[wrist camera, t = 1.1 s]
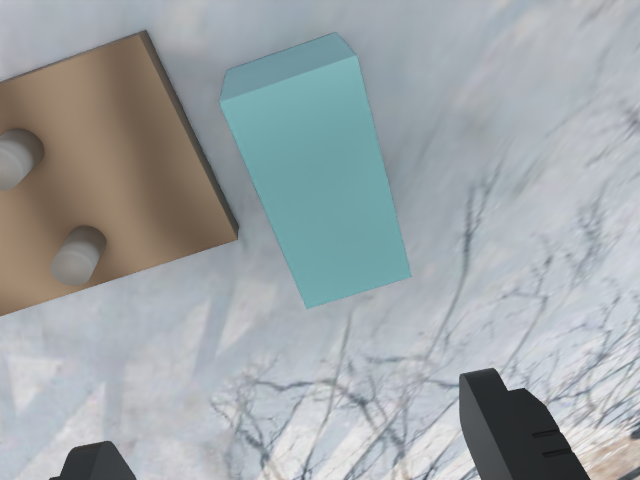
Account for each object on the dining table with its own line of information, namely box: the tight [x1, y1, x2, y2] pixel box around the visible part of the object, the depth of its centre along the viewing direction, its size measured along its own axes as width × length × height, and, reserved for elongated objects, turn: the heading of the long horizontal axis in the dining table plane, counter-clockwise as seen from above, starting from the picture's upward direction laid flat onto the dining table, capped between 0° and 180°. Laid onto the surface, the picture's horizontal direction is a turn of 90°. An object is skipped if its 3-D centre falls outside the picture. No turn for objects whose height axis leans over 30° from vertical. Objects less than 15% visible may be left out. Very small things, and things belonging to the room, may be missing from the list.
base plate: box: [0, 30, 239, 316], centre depth 25 cm, size 16×12×4 cm
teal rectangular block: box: [219, 32, 412, 309], centre depth 25 cm, size 6×12×6 cm, turn 17°
